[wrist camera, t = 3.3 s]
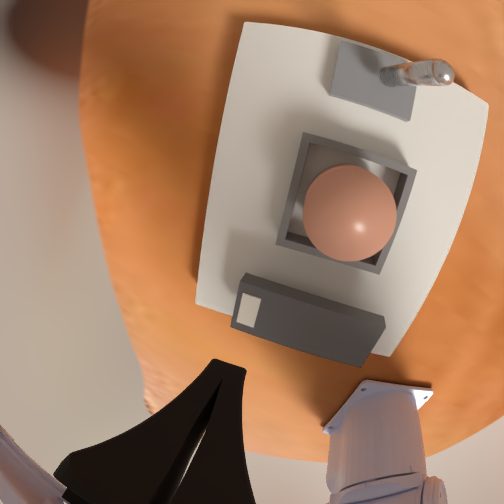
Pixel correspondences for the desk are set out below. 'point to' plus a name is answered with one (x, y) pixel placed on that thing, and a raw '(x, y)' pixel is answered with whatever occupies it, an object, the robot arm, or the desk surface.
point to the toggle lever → (417, 74)
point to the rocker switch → (305, 321)
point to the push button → (349, 212)
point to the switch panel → (325, 155)
